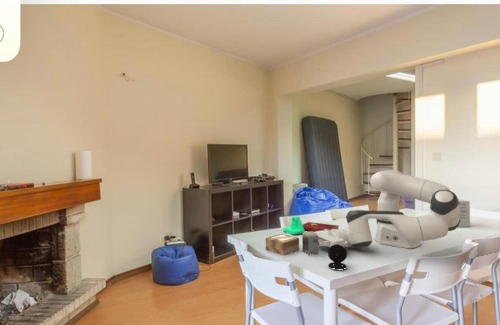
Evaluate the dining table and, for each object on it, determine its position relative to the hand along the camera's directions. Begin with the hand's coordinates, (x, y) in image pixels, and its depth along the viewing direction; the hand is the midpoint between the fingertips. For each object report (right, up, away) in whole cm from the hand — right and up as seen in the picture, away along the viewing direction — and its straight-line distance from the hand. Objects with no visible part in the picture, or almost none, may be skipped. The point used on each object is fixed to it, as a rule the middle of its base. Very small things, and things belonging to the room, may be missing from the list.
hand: (313, 241), depth 148 cm
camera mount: (-4, -5, +39) cm, 40 cm away
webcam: (+6, -6, -20) cm, 22 cm away
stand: (-15, -6, +6) cm, 17 cm away
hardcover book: (+13, -5, +43) cm, 45 cm away
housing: (-1, -6, 0) cm, 6 cm away
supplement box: (+106, -3, +51) cm, 118 cm away
